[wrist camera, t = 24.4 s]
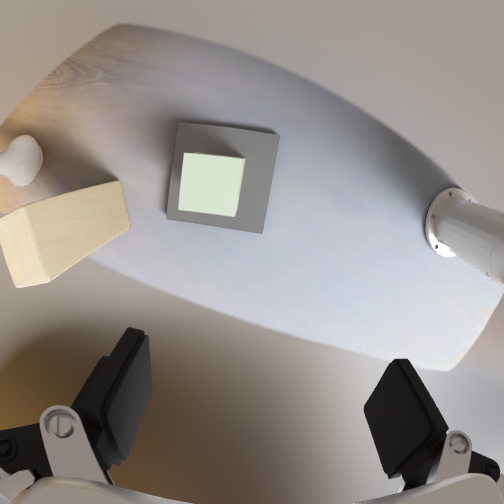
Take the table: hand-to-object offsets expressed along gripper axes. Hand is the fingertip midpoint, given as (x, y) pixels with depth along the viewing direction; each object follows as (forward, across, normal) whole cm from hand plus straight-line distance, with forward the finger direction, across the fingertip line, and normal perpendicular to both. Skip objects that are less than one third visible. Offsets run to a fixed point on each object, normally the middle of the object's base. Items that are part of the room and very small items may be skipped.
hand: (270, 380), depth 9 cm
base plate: (+32, +6, -4) cm, 33 cm away
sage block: (+26, +6, -4) cm, 27 cm away
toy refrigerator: (+32, +24, +3) cm, 41 cm away
